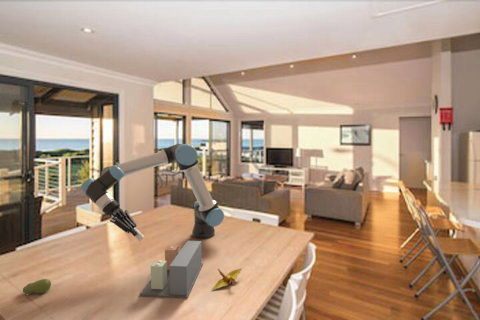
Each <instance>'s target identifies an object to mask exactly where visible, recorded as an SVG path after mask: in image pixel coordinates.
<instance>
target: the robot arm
mask: <svg viewBox="0 0 480 320" xmlns="http://www.w3.org/2000/svg"><path fill="white" fill-rule="evenodd" d="M164 164H165V165H171V164H176V165H177V166H178V169H179V171H180V172H183V173H184V175H185V177H186V180H187V182H188V183H189V186H190V188H191V190H192V192H193V194H194V196H195V199H196V201H194V203H193V209H194V212H193V213H194V214H193V215H194V224H193V228H192V231H191V236H192V237H193V238H196V239H208V238H209V239H210V238H212V237H213V236H215V234H216V230H215V227H218V226H220V225H221V224H222V223H223V221H224V218H225V213H224V210H222V208H220V207H219V205H218V202H217V200H215V199H213V197H212V195H211V193H210V191H209V189H208V187H207V184H206V181H205V179H204V178H203V175H202V173H201V170H200V168H199V166H198V165H199V160H198V151H197V149H196V148H195V147H194V146H193V145H190V144H189V143H176V144H173V145H171V146H169V147H165V148H162V149H161V150H160V151H159V152H154V153H152V154H148V155H144V156H141V157H138V158H135V159H131V160H128V161H124V162H121V163H118V164H114V165H112V166H108V165H107V166H106V167H104V168H103V169H102V170H101V172H100V174H101V175H99V177H97V178H94V177H90V178H88V179H87V180H85V181H83V183H81V185H80V190H81V191H82V192H83V193H84V195H85V196H86V197H88V198H89V199H90V200H91V201H92V202H93V203H94V204H95V205H96V207H98V209H100V210H102V213H104V214H105V215H106V217H108V216H109V217H110V219H109V222H110V223H113V224H114V225H115V226H116V227H118V228H120V230H122V231H123V232H124V233H126V234H129V233H130V234H131V235H132V236H133V237H135V238H136V239H137V241H138V242H141V241H142V240H143V239H144V238H145V235H144V234H143V233H142V232H141V231H140V230H139V229H138V228H137V227H138V225H137V223H136V221H135V220H134V219H133V217H132V216H131V215H130V212H129V211H128V210H127V209H125V210H123V209H122V208H121V207H120V206H121V204H120V203H119V202H118V201H117V200H115V198H114V197H113V196H112V195H111V194H110V193H109V192H108V190H109V189H111V188H112V187H113V186H115V185H116V183H117V184H118V182H119V181H121V180H122V179H123V178H124V177H126V176H131V175H133V174H136V173H140V172H143V171H146V170H148V169H152V168H154V167H158V166H161V165H164Z"/></svg>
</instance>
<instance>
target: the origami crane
mask: <svg viewBox="0 0 480 320" xmlns="http://www.w3.org/2000/svg"><path fill="white" fill-rule="evenodd" d="M242 269H243V268H242V267H241V268H237V269H234V270H231V271H230V272H228V273H227V274H226V275H225V274H224V272H222V270H221V269H220V268H217V271H218V272H219V275H220V276H221V277H222V278H220V279H219V280H217V282H216V284H215V285H214V286H213V287H212V289H211V292H213V291H214V290H218V289H220V288H222V287H227V286H231V285H233V283H236V279H238V276H239V274H240V273H241V271H242Z"/></svg>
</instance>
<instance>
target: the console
mask: <svg viewBox="0 0 480 320" xmlns="http://www.w3.org/2000/svg"><path fill="white" fill-rule="evenodd" d="M203 266H204V263H202V240H187V241H186V242H185V244H184V245H183V246H182V247H181V249H180V250H179V251H178V255H177V256H176V257H175V259H174V260H173V262H172V263H171V264H170V270H167V284H166V286H165V287H164V289H163V290H161V289H151V279H150V280H149V281H148V283H146V285H145V287H144V288H143V289H142V291H140V293H139V294H138V295H139V297H146V298H147V297H148V298H167V299H168V298H169V299H186V300H187V299H189V296H190V294H191V292H192V289H193V288H194V285H195V283H196V281H197V279H198V278H199V275H200V272H201V270H202V268H203Z"/></svg>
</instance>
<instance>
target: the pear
mask: <svg viewBox="0 0 480 320" xmlns="http://www.w3.org/2000/svg"><path fill="white" fill-rule="evenodd" d="M51 286H52V282H51V280H50V279H48V278H41V279H39V280H35V281H34V282H29V283H28V284H26V285H25V286H23V288H22V292H23V293H25V294H29V295H31V294H32V293H36V294H44V292H45V293H46V292H47V293H48V291H49V290H50V289H51Z"/></svg>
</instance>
